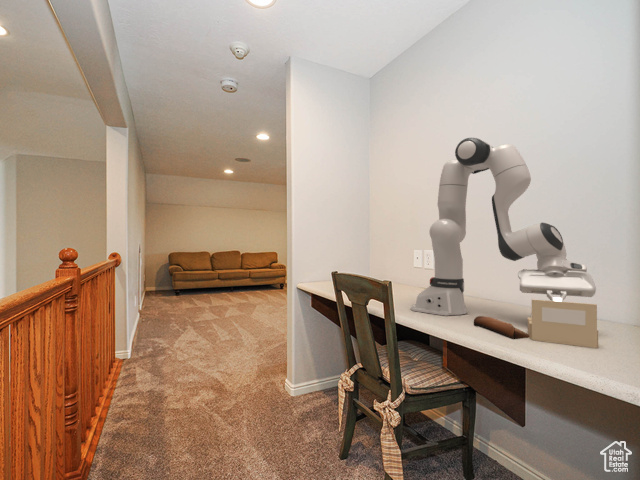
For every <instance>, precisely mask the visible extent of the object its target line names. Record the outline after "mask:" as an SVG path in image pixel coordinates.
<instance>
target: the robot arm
mask: <svg viewBox="0 0 640 480" xmlns="http://www.w3.org/2000/svg"><path fill="white" fill-rule="evenodd" d="M456 145H457V146H456V148H455V150H454V156H455V159H451V160H448V161H446V162H445V163H444V164H443V167H442V169H441V174H440V177H439V184H438V185H439V186H438V196H437V208H438V220H436V221H434V222H433V223H432V224H431V226H430V228H429V237H430V238H431V247H432V251H433V257H434V276H432V277H431V278H430V279H429V286H428V287H426V288H425V289H424V290H422V291H421V292H420V293H418V294H417V296H416V300H415V303H414V304H412V305H410V311H413V312H419V313H426V314H433V315H439V316H458V315H466V314H467V313H468V310H467V308H466V303H465V298H464V291H465V279H464V277H463V276H464V275H463V274H464V273H463V272H464V271H463V268H464V266H463V265H464V264H463V261H464V260H463V257H462V252H461V243H462V242H463V241H464V239H465V238H466V233H467V231H466V229H467V219H466V218H467V216H466V215H467V211H466V206H467V193H468V184H469V177H470V175H471V174H473V175H475V174H478V173H481V172H486V171H487V170H490V172H491V174H492V177H493V179H494V181H495V191H494V194H493V195H492V196H491V207H492V213H493V218H494V222H495V227H496V234H497V242H498V243H497V246H498V250H499V253H500V254H501V256H502V258H505V259H507V260H509V261H513V262H516V261H518V260H522V259H524V258H525V257H529V256H533V255H535V256H536V259H537V262H536V265H537V268H536V269H526V268H524V269H521V270H519V271H518V272H517V277H518V279H519V291H520V292H521V293H524V294H537V295H538V294H539V295H546V297H547V298H548V300H549V301H560V302H564V300H565V299H566V297H568V296H569V297H580V298H581V297H583V298H592V297H594V296H595V295H596V291H597V288H596V284H595V283H596V282H595V281H594V278H593V276H592V275H591V274H590V273H589V272H587V269H588V267H587V265H585V264H582V263H577V262H573V261H569V260H567V250H566V246H565V244H564V240H563V237H562V234H561V233H560V231H559V230H558V229H557V228H556V226H554V225H552V224H549V223H546V222H540V223H536V224H533V225H531V226H530V225H529V226H528V227H525V228H523V229H520V230H516V231H514V232H512V226H511V223H510V222H511V221H510V218H509V210H510V208H511V206H512V205H513V203H515V202H516V200H517V199H518V198H520V197H521V196H523V194H524V193H526V191H527V189H528V188H529V186H530V184H531V181H532V178H531V173H530V171H529V168H528V166H527V164H526V161H525V160H524V158H523V156H522V155H521V153H520V151H518V149H517V147H516V146H514V145H513V144H509V143H504V144H501V145H498V146H495V147H493V146H492V145H490V143H488V142H486V141H484V140H481V139H480V138H477V137H467V138H464V139H462V140H460V142H459V143H458V144H456ZM554 295H555V296H559V297H554Z"/></svg>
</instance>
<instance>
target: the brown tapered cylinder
mask: <svg viewBox="0 0 640 480" xmlns="http://www.w3.org/2000/svg"><path fill="white" fill-rule="evenodd" d="M472 323H473V326H477V327H480V328H481V327H482V328H486V329H488V330H490V331H493V332H497V333H498V334H501V335H504V336H506V337H508V338H511V339H513V340H520V339H530V338H529V334H528V332H525V331H523V330H521V329H519V328H516V327H514V325H513V324H512V323H510V322H506V321H503V320H499V319H496V318H494V317H490V316H484V315H479V316H476V317H475V318H474V319H473V322H472Z"/></svg>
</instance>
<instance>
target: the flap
mask: <svg viewBox="0 0 640 480" xmlns="http://www.w3.org/2000/svg"><path fill="white" fill-rule="evenodd" d="M531 318H532V339H531V341H537V342H546V343H551V344H552V343H553V344H561V345H569V346H575V347H584V348H590V349H591V348H592V349H597V348H598V347H597V330H598V305H597V303H587V302H585V303H584V302H570V301H563V302H560V301H551V300H544V299H535V298H534V299H533V298H532V299H531Z"/></svg>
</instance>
